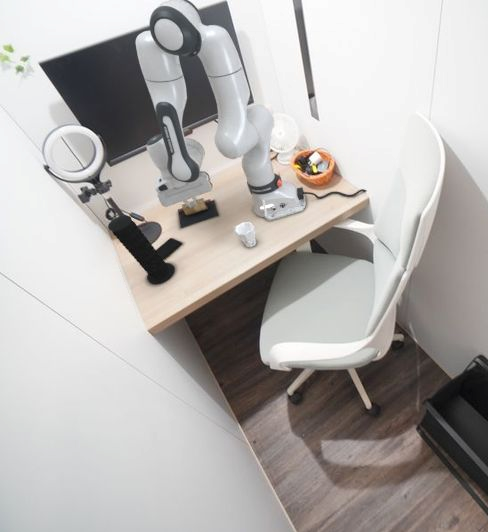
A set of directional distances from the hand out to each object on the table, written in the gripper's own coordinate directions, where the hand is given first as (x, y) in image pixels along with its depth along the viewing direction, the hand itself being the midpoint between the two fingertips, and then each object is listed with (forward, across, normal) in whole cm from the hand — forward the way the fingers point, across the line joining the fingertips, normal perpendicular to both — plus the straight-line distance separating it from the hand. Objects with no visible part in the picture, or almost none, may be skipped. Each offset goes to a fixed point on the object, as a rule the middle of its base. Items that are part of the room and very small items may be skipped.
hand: (193, 206), depth 133 cm
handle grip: (+6, +18, +26) cm, 32 cm away
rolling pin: (+6, 0, -4) cm, 7 cm away
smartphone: (+6, +17, +15) cm, 23 cm away
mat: (+6, 0, -3) cm, 7 cm away
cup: (+7, -15, +26) cm, 31 cm away
